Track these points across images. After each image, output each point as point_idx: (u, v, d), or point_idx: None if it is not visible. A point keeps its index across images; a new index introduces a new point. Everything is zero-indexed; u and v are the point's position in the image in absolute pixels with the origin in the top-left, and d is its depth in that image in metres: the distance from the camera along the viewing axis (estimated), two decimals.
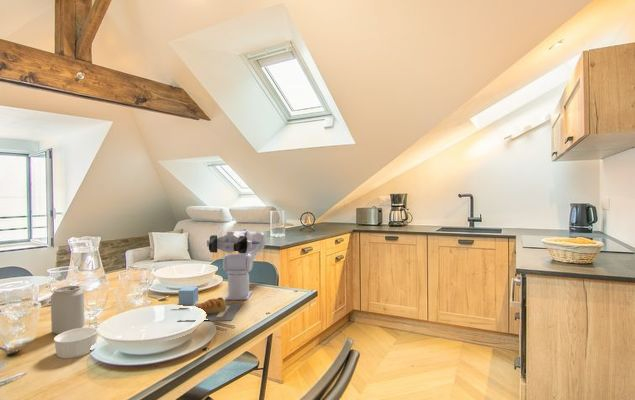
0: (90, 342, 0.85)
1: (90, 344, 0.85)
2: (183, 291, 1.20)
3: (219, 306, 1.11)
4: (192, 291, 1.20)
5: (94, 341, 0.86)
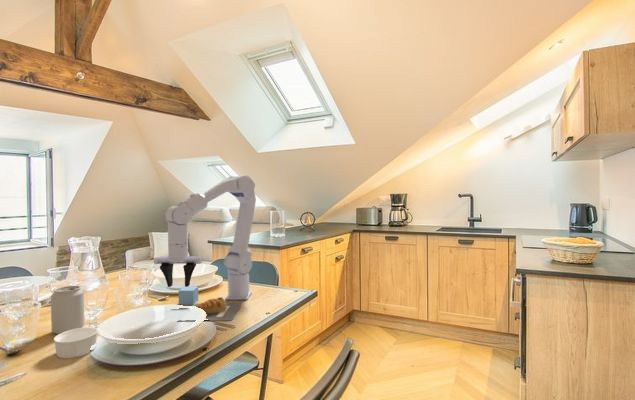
0: (90, 342, 0.85)
1: (90, 344, 0.85)
2: (183, 291, 1.20)
3: (219, 306, 1.11)
4: (192, 291, 1.20)
5: (94, 341, 0.86)
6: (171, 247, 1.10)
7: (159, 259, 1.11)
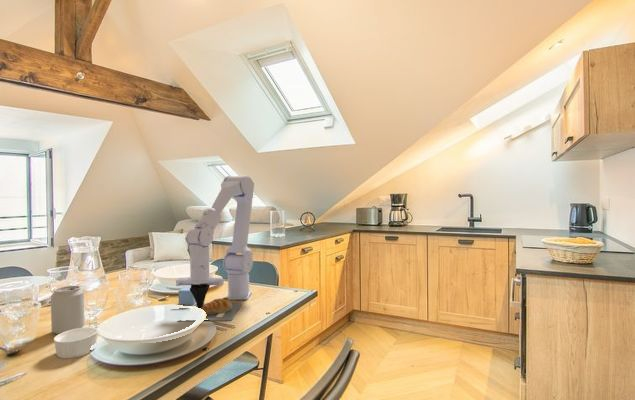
0: (90, 342, 0.85)
1: (90, 344, 0.85)
2: (183, 291, 1.20)
3: (226, 306, 1.12)
4: None
5: (94, 341, 0.86)
6: (193, 269, 1.10)
7: (181, 281, 1.11)
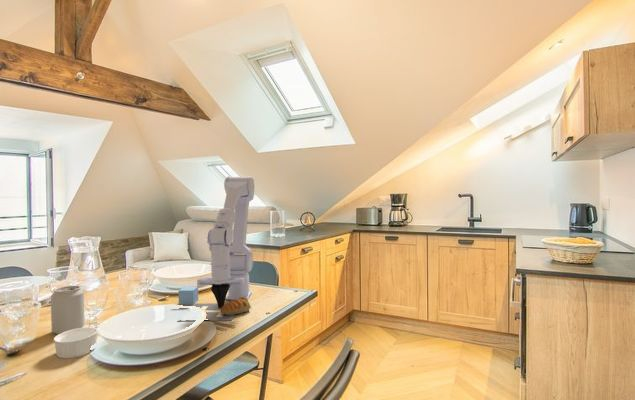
0: (90, 342, 0.85)
1: (90, 344, 0.85)
2: (183, 291, 1.20)
3: (246, 306, 1.12)
4: (192, 291, 1.20)
5: (94, 341, 0.86)
6: (215, 269, 1.10)
7: (202, 281, 1.12)
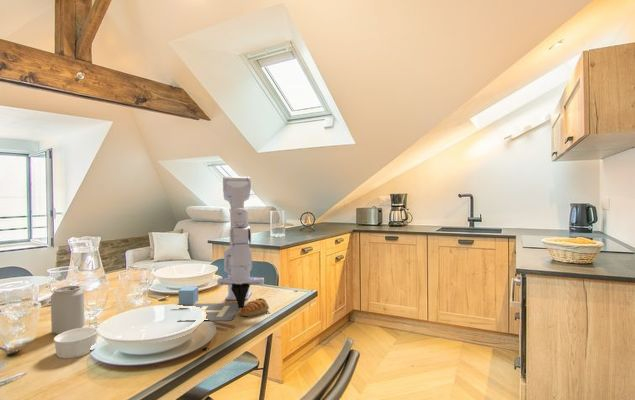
0: (90, 342, 0.85)
1: (90, 344, 0.85)
2: (183, 291, 1.20)
3: (265, 306, 1.12)
4: (192, 291, 1.20)
5: (94, 341, 0.86)
6: (235, 269, 1.10)
7: (222, 280, 1.12)
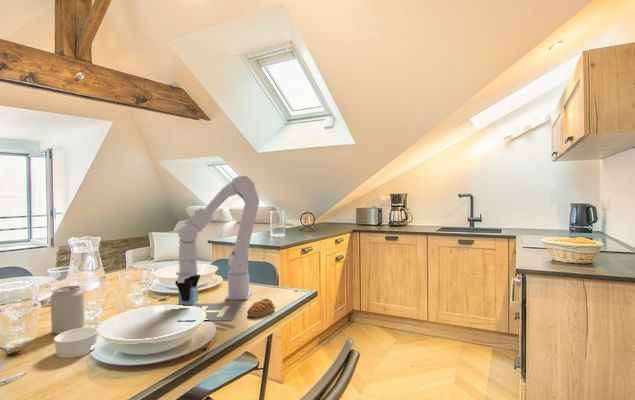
0: (90, 342, 0.85)
1: (90, 344, 0.85)
2: None
3: (271, 307, 1.12)
4: (192, 291, 1.20)
5: (94, 341, 0.86)
6: None
7: None
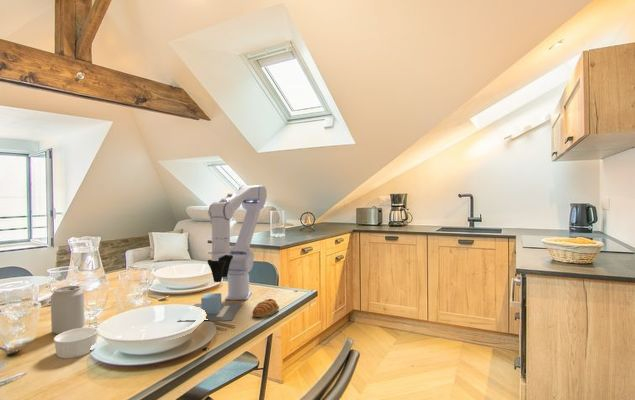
0: (90, 342, 0.85)
1: (90, 344, 0.85)
2: (206, 299, 1.10)
3: (276, 307, 1.12)
4: (216, 299, 1.11)
5: (94, 341, 0.86)
6: None
7: None
